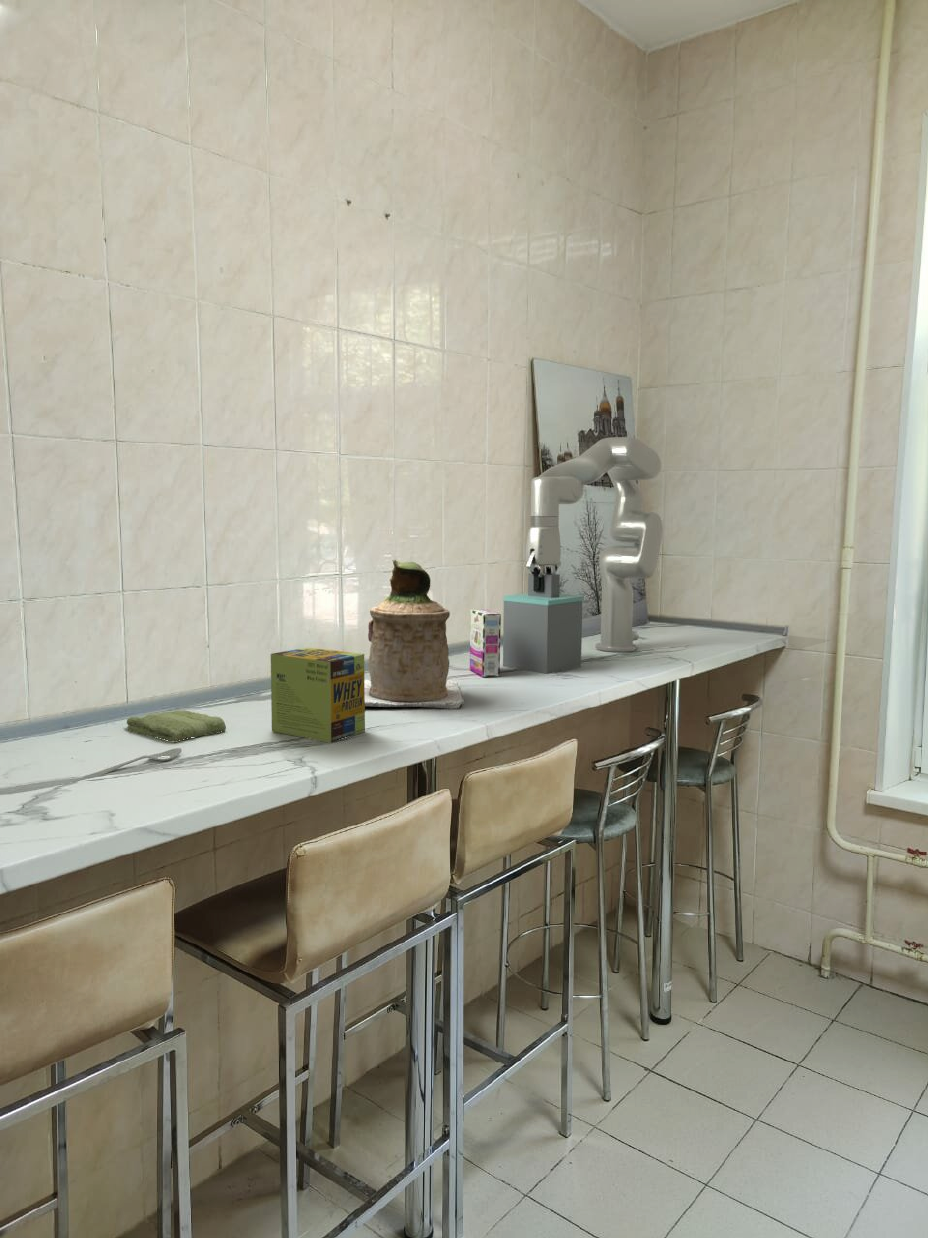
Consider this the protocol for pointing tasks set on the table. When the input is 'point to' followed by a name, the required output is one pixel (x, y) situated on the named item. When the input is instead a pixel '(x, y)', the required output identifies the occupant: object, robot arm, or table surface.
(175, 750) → the spoon
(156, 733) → the washcloth
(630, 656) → the table surface
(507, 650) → the bin
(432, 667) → the cookie jar
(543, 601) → the lid
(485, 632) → the candy bar box
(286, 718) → the protein box
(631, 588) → the robot arm
